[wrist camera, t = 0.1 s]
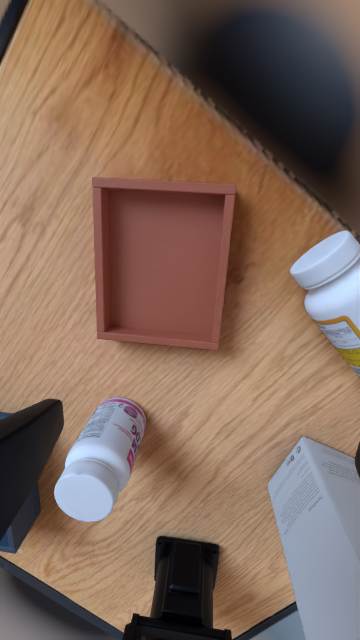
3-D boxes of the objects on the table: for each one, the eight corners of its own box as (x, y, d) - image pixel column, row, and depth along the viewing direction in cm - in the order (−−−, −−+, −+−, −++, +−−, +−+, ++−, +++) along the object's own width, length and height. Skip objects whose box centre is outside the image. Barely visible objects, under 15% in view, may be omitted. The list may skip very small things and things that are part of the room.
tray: (218, 340, 24) (218, 350, 22) (105, 330, 24) (96, 339, 23) (234, 188, 20) (236, 184, 18) (102, 181, 21) (91, 177, 19)
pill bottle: (157, 429, 27) (133, 516, 19) (114, 446, 28) (74, 535, 20) (129, 387, 26) (92, 460, 18) (86, 407, 27) (33, 484, 19)
